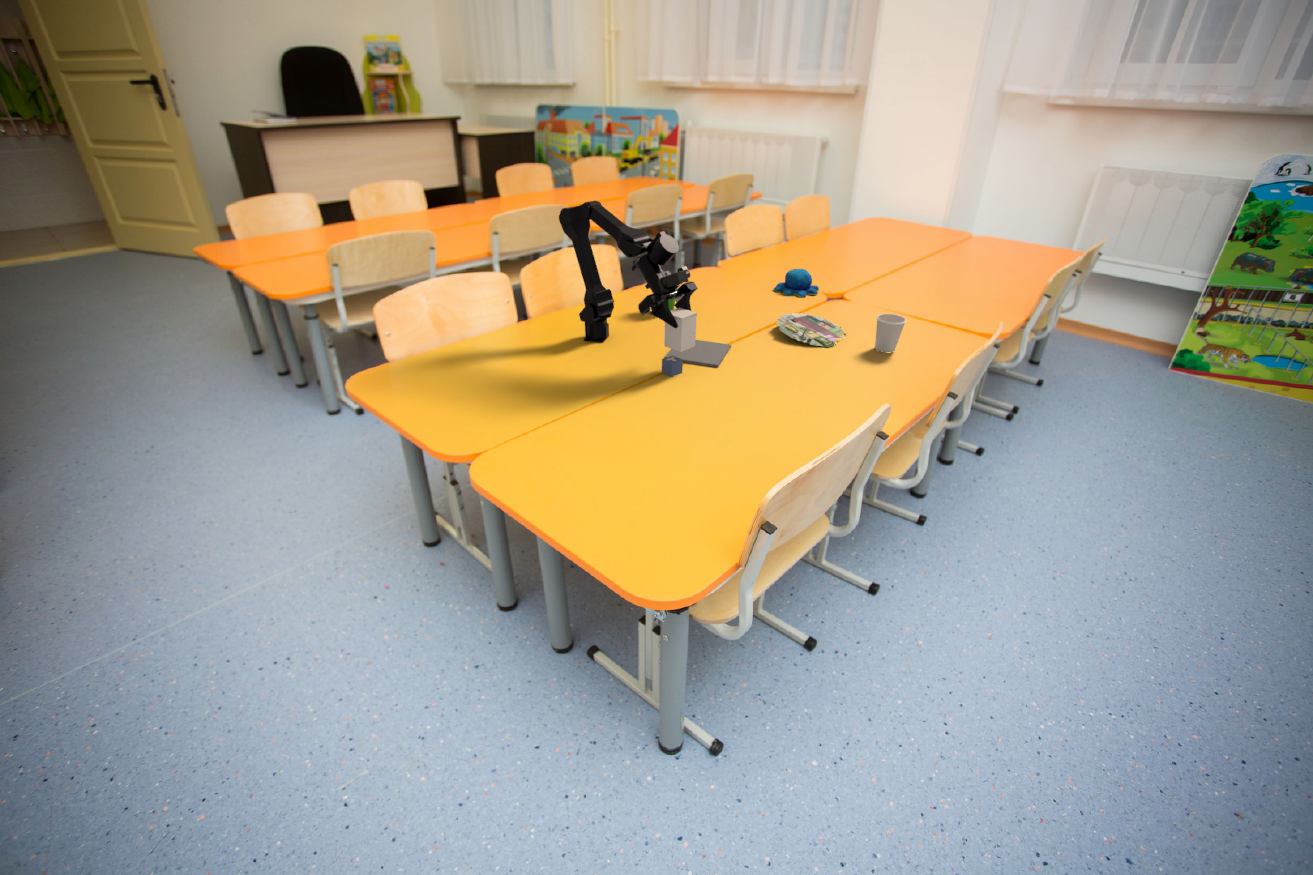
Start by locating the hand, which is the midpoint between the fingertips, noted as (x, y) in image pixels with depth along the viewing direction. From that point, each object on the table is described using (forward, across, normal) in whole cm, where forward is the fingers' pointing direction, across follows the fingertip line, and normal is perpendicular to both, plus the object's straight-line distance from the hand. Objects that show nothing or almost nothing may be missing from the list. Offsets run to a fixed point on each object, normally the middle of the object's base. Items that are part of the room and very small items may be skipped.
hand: (684, 324), depth 162 cm
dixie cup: (+34, +54, -15) cm, 66 cm away
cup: (-16, +34, +35) cm, 51 cm away
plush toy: (-1, +87, +21) cm, 90 cm away
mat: (+6, +13, +13) cm, 19 cm away
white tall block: (+4, 0, +6) cm, 7 cm away
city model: (+18, +50, +2) cm, 53 cm away
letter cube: (+9, -3, +11) cm, 14 cm away
